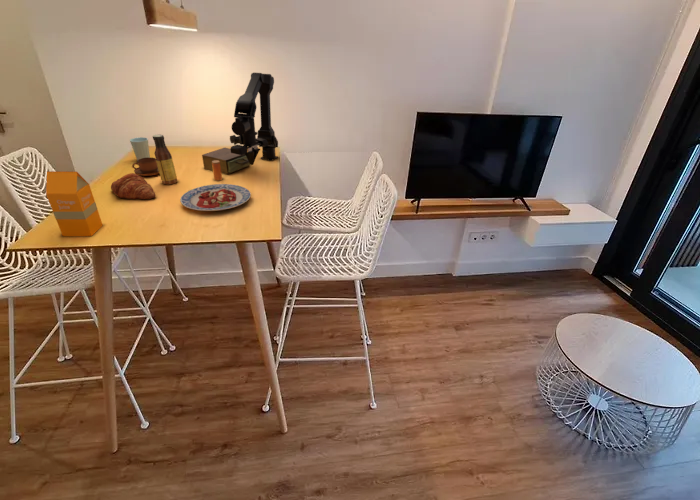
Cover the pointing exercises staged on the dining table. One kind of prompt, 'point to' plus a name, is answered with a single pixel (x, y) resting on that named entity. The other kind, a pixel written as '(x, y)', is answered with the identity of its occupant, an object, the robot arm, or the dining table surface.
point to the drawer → (237, 163)
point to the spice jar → (216, 170)
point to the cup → (140, 147)
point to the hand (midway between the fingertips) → (251, 164)
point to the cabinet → (220, 159)
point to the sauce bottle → (164, 161)
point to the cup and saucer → (146, 167)
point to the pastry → (132, 187)
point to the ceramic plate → (215, 197)
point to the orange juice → (72, 203)
